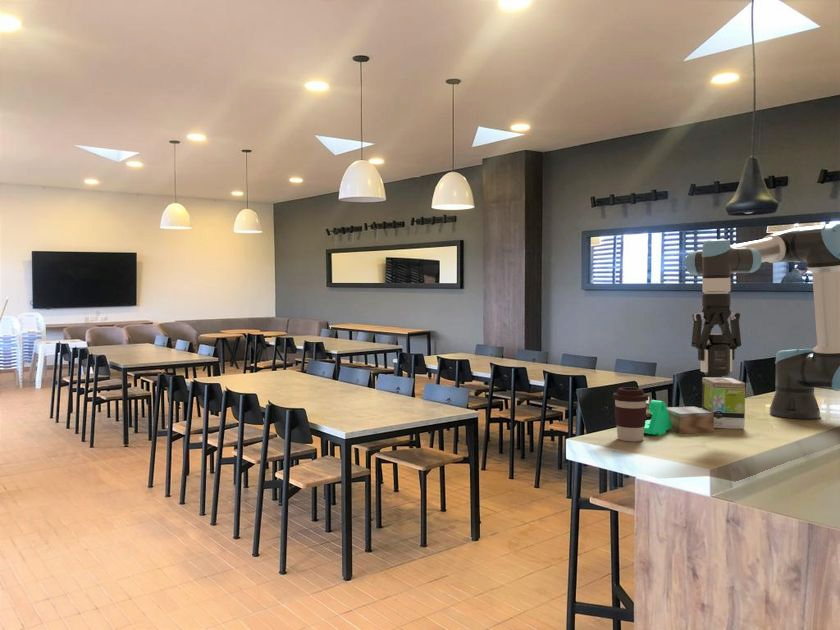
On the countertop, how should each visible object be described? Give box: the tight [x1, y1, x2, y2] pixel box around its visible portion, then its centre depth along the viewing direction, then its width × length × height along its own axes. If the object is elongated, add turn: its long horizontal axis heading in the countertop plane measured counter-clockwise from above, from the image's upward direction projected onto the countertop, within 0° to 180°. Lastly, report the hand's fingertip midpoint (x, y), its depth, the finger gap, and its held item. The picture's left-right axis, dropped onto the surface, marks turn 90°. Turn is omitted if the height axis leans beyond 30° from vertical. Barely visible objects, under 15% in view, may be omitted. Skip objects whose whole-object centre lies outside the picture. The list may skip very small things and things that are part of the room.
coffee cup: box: [612, 386, 649, 443], centre depth 190 cm, size 10×10×15 cm
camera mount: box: [644, 399, 672, 436], centre depth 199 cm, size 12×8×10 cm, turn 134°
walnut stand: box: [666, 406, 715, 434], centre depth 204 cm, size 11×11×6 cm
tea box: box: [701, 376, 746, 430], centre depth 210 cm, size 15×10×15 cm, turn 168°
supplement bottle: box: [703, 333, 731, 377], centre depth 189 cm, size 7×7×12 cm
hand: (716, 371), depth 189 cm, fingers closed on supplement bottle, 7 cm apart
